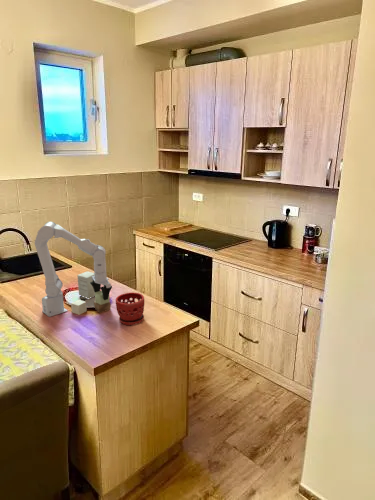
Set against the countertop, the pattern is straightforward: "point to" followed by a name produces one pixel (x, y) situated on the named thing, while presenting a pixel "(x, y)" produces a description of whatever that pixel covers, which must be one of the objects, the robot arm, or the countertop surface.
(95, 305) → the walnut block
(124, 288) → the countertop surface
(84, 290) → the supplement box
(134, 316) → the plant pot
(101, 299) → the sage cube
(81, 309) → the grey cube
